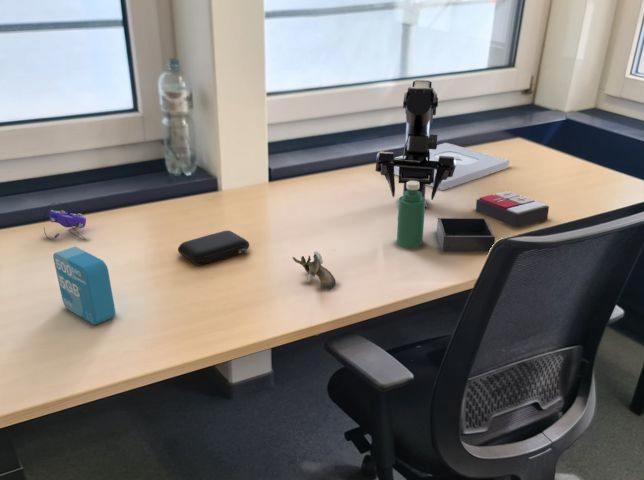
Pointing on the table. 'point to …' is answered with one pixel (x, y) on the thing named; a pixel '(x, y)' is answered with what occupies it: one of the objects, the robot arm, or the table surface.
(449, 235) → the tray
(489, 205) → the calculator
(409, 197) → the bottle
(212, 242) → the carrying case
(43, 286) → the table surface
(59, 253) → the data package
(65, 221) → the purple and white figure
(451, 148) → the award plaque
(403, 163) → the robot arm
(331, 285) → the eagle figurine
